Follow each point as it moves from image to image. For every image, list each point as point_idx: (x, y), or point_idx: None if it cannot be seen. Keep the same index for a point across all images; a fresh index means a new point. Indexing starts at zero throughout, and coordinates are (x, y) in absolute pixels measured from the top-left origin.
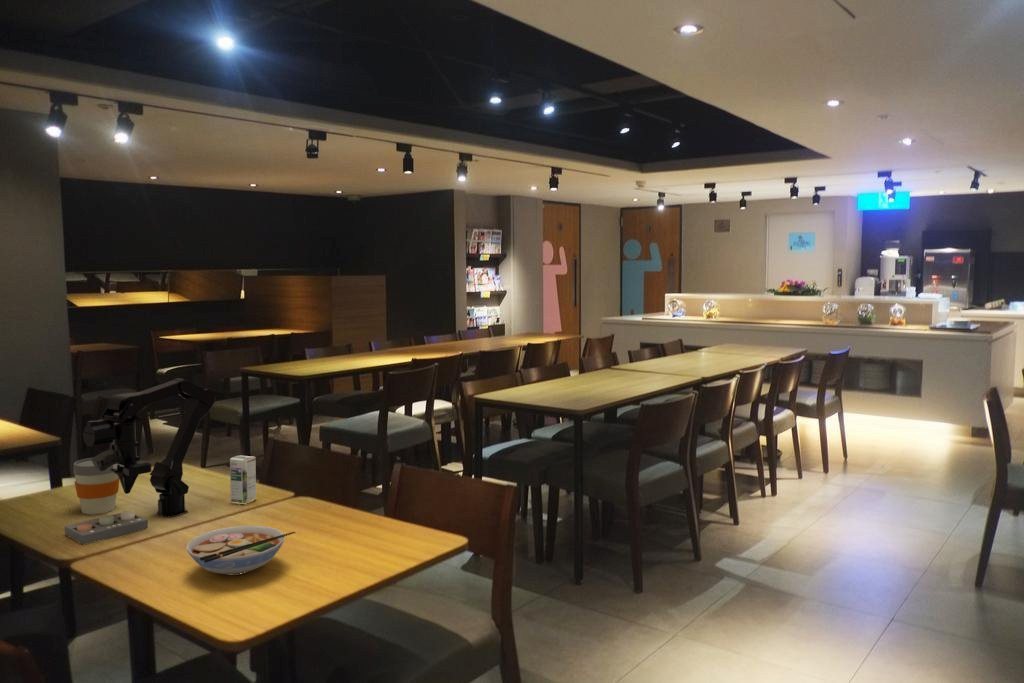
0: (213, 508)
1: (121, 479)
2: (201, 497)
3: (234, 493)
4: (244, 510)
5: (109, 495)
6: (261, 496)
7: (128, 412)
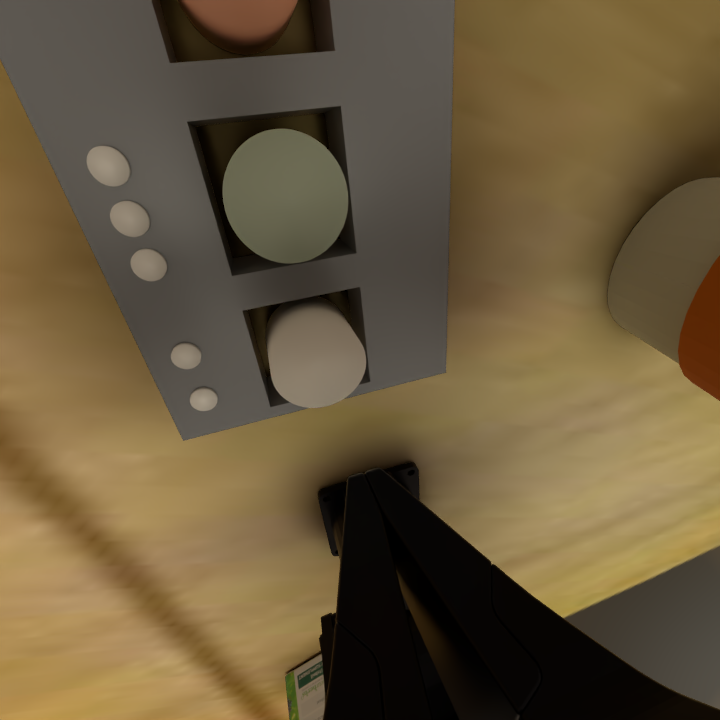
0: (325, 608)
1: (474, 647)
2: None
3: None
4: (230, 677)
5: (684, 335)
6: None
7: None
